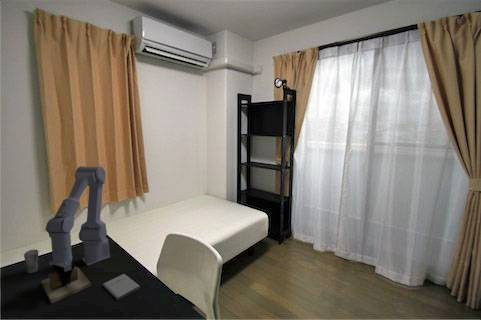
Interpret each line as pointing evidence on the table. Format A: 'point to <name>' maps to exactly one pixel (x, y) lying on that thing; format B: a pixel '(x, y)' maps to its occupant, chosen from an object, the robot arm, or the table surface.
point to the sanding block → (56, 281)
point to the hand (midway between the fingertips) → (64, 281)
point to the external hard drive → (121, 286)
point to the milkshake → (31, 260)
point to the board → (66, 287)
